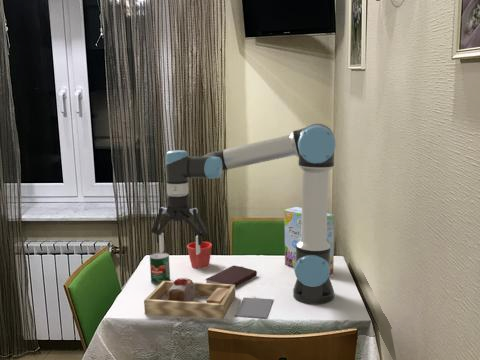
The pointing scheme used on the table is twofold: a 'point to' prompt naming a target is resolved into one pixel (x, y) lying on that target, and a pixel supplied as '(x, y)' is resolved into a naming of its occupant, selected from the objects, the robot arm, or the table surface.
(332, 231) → the snack box
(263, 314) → the mat
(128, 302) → the table surface
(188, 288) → the food item
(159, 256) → the canned tomato
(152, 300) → the tray
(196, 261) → the flower pot
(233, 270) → the book
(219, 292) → the offcut stack
